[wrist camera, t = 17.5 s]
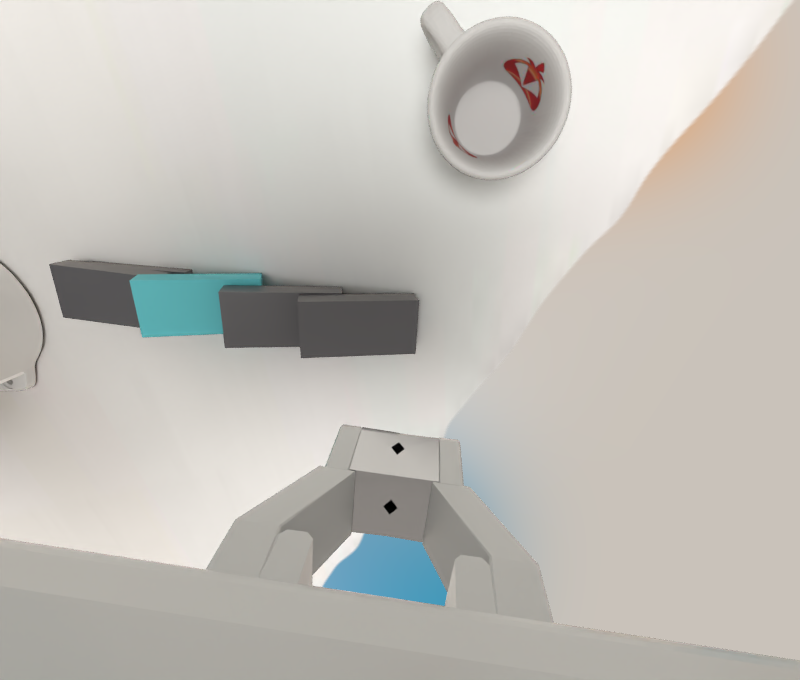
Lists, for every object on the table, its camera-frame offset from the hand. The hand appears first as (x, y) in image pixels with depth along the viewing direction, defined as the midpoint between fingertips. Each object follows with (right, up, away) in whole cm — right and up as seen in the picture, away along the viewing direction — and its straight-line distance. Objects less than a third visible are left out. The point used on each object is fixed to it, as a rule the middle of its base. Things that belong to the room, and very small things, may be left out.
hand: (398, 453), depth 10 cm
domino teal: (-13, +6, +26) cm, 29 cm away
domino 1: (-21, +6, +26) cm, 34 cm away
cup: (+6, +20, +19) cm, 28 cm away
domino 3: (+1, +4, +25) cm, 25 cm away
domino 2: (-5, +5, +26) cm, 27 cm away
